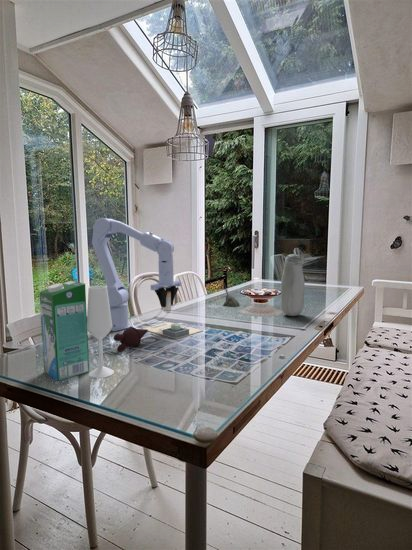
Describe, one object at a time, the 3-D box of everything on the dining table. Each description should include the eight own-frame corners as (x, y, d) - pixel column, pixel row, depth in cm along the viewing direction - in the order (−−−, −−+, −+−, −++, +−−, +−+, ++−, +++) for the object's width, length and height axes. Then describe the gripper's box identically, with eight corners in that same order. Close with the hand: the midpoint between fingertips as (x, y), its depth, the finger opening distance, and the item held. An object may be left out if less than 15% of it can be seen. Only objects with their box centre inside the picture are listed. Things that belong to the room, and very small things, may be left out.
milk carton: (43, 372, 105) (38, 283, 102) (74, 363, 111) (70, 280, 108) (57, 381, 99) (52, 286, 96) (89, 371, 105) (85, 282, 102)
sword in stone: (243, 305, 197) (243, 282, 195) (237, 308, 190) (236, 285, 189) (226, 303, 202) (225, 281, 200) (219, 306, 195) (218, 283, 194)
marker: (166, 311, 147) (166, 292, 146) (161, 310, 149) (160, 291, 149) (172, 310, 150) (172, 291, 149) (167, 309, 152) (167, 290, 151)
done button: (175, 333, 139) (175, 326, 138) (169, 331, 141) (168, 325, 141) (182, 331, 141) (182, 324, 141) (176, 330, 144) (176, 323, 143)
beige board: (176, 338, 136) (176, 337, 136) (141, 329, 149) (141, 328, 149) (202, 331, 146) (202, 330, 146) (168, 322, 160) (168, 322, 160)
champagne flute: (118, 372, 104) (115, 286, 101) (97, 379, 99) (93, 289, 96) (105, 366, 109) (101, 284, 106) (84, 373, 104) (79, 287, 101)
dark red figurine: (137, 321, 136) (105, 335, 124) (152, 319, 131) (120, 332, 119) (142, 340, 136) (111, 355, 124) (157, 338, 132) (126, 353, 119)
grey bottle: (304, 318, 166) (306, 254, 162) (281, 317, 167) (282, 254, 164) (302, 313, 175) (304, 253, 172) (280, 312, 177) (281, 253, 174)
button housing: (175, 337, 136) (175, 333, 136) (162, 334, 141) (162, 329, 141) (189, 333, 141) (189, 329, 141) (176, 330, 146) (176, 326, 146)
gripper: (158, 274, 140) (159, 310, 141) (186, 271, 150) (186, 304, 152) (146, 273, 144) (147, 308, 146) (174, 269, 155) (174, 302, 157)
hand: (166, 306), depth 149 cm, fingers closed on marker, 3 cm apart
